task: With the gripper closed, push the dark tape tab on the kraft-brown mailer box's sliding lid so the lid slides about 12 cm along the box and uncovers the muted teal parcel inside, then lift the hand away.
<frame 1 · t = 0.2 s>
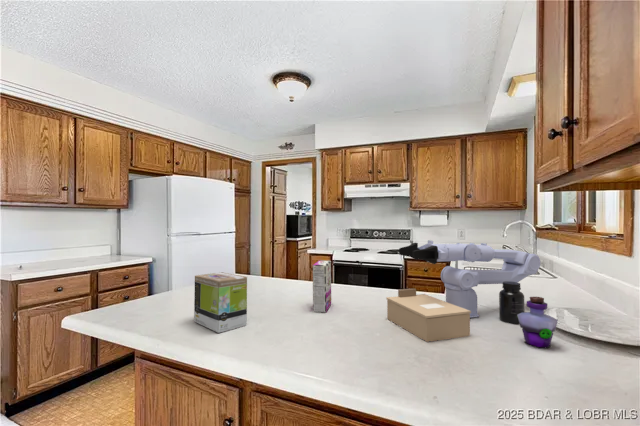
hand: (406, 253, 100), 21 cm above the countertop, tool horizontal, fingers open, 7 cm apart
mailer box: (425, 326, 94), on the countertop
tea box: (220, 324, 97), on the countertop
potion bottle: (537, 345, 81), on the countertop
candy bar box: (322, 308, 114), on the countertop
mailer lid: (425, 301, 94), point 8 cm above the countertop, slide at 0.0 cm
supplement bottle: (511, 321, 99), on the countertop
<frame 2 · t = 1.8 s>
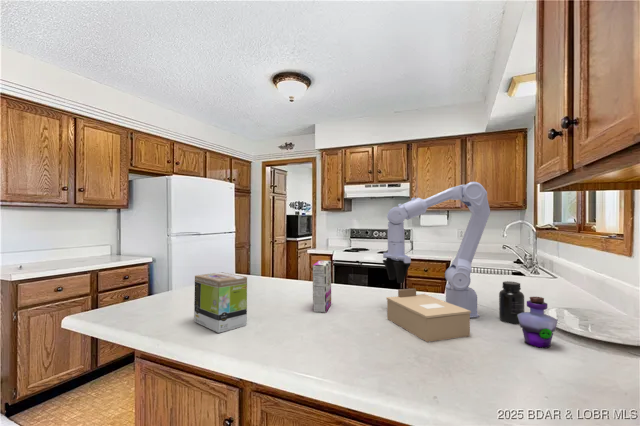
hand: (396, 281, 109), 10 cm above the countertop, tool pointing down, fingers open, 5 cm apart
nothing on the countertop moved.
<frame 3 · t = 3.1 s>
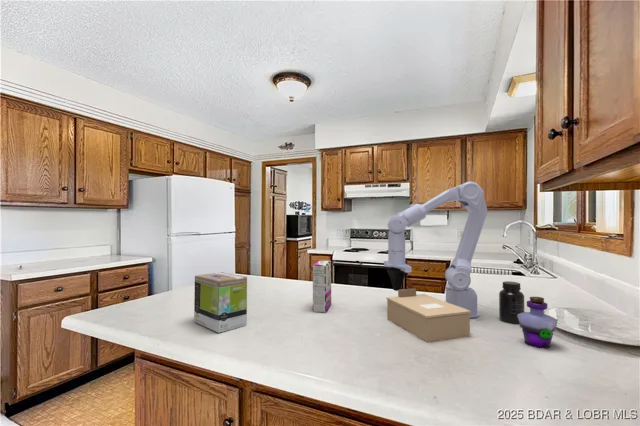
hand: (396, 290, 109), 7 cm above the countertop, tool pointing down, fingers closed
nothing on the countertop moved.
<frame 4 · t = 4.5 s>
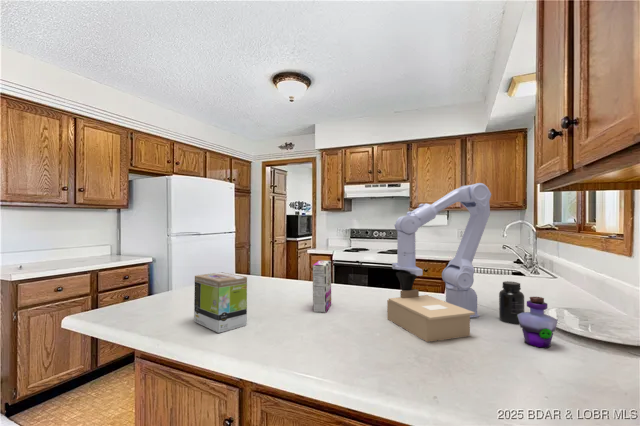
hand: (406, 294, 103), 7 cm above the countertop, tool pointing down, fingers closed
mailer lid: (428, 302, 93), point 8 cm above the countertop, slide at 1.3 cm, touching gripper
everything else where it was.
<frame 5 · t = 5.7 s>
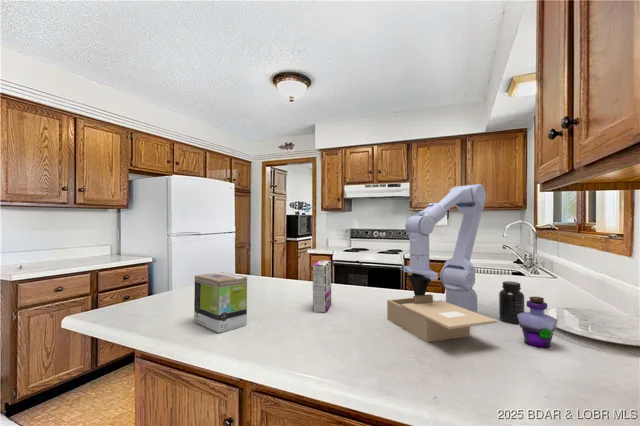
hand: (419, 299, 97), 7 cm above the countertop, tool pointing down, fingers closed
mailer lid: (444, 308, 86), point 8 cm above the countertop, slide at 8.4 cm, touching gripper
everything else where it was.
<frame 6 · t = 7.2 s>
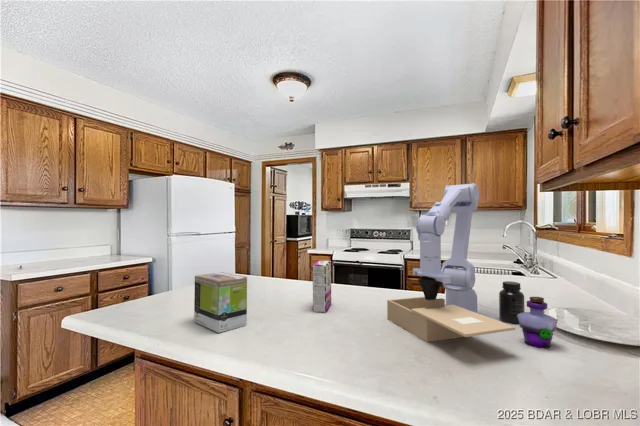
hand: (430, 303, 92), 7 cm above the countertop, tool pointing down, fingers closed
mailer lid: (458, 314, 81), point 8 cm above the countertop, slide at 13.6 cm, touching gripper
everything else where it was.
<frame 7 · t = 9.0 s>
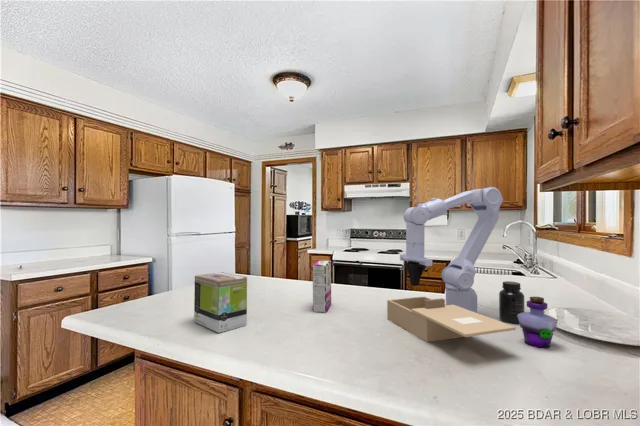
hand: (414, 285, 103), 10 cm above the countertop, tool pointing down, fingers closed
mailer lid: (458, 314, 81), point 8 cm above the countertop, slide at 13.6 cm
everything else where it was.
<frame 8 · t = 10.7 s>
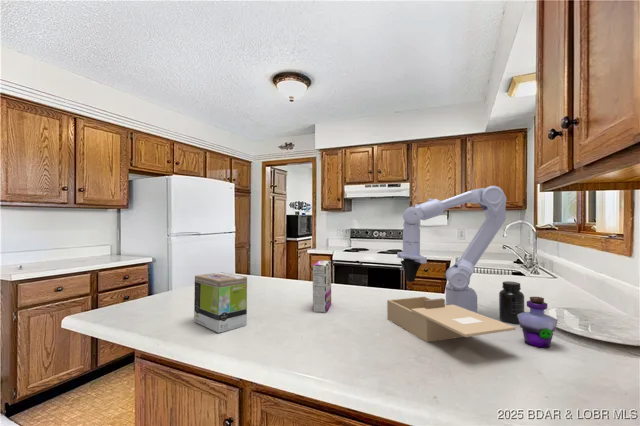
hand: (410, 281, 109), 10 cm above the countertop, tool pointing down, fingers closed
nothing on the countertop moved.
at the end: mailer lid slide at 13.6 cm; candy bar box moved 0.2 cm from its start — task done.
